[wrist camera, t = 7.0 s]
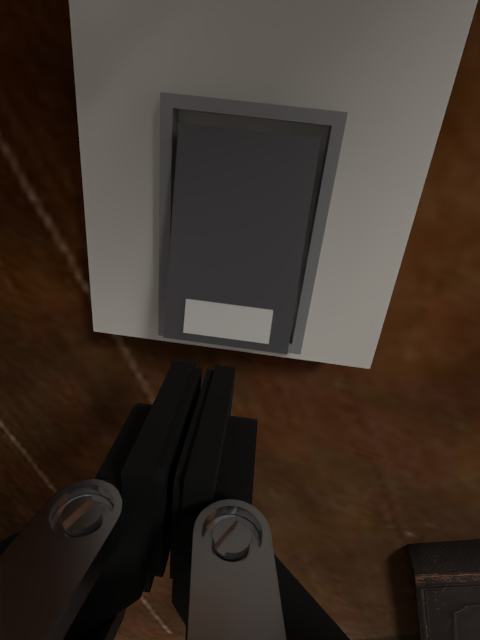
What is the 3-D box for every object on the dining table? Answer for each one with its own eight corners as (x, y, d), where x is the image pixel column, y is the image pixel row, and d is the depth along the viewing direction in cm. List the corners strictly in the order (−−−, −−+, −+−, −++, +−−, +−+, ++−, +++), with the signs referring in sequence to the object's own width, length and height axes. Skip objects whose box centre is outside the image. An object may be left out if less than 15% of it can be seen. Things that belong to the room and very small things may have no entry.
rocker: (185, 129, 13) (178, 121, 12) (317, 144, 13) (321, 137, 12) (170, 330, 15) (162, 338, 14) (286, 345, 15) (287, 354, 13)
